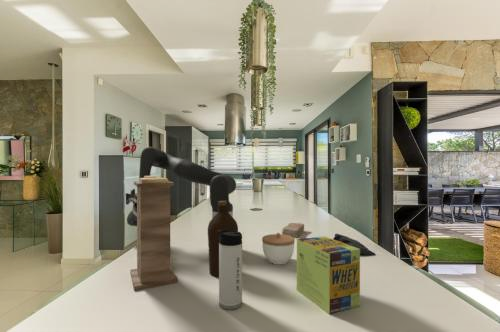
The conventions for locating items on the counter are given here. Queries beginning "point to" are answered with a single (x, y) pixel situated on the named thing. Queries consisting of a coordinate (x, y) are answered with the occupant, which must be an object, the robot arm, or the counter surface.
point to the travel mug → (230, 269)
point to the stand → (153, 236)
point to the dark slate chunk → (353, 244)
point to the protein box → (328, 273)
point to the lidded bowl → (278, 248)
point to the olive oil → (218, 223)
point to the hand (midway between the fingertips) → (145, 190)
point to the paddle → (153, 180)
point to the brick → (293, 229)
